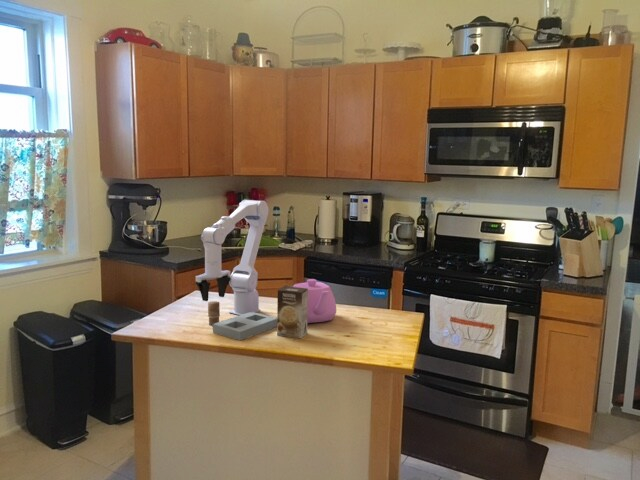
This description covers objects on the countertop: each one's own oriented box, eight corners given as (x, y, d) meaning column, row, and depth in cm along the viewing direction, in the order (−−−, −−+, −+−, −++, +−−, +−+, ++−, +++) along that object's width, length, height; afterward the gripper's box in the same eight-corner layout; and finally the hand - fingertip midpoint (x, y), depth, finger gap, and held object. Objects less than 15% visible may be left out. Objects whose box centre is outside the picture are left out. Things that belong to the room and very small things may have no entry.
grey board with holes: (251, 319, 197) (251, 311, 197) (277, 326, 190) (277, 318, 189) (212, 332, 182) (212, 324, 182) (240, 340, 174) (239, 331, 174)
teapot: (273, 316, 202) (273, 277, 199) (323, 310, 210) (324, 273, 208) (293, 334, 181) (293, 291, 179) (349, 327, 189) (349, 286, 187)
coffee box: (276, 335, 180) (276, 289, 177) (283, 330, 186) (283, 285, 183) (301, 339, 177) (301, 292, 174) (308, 333, 183) (308, 287, 180)
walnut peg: (214, 321, 194) (214, 300, 193) (222, 323, 191) (221, 302, 190) (205, 324, 191) (205, 302, 189) (213, 326, 188) (213, 304, 187)
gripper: (204, 265, 179) (205, 304, 181) (236, 260, 191) (236, 296, 193) (191, 262, 184) (191, 301, 186) (222, 257, 195) (222, 293, 197)
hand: (213, 298), depth 189 cm, fingers open, 7 cm apart
